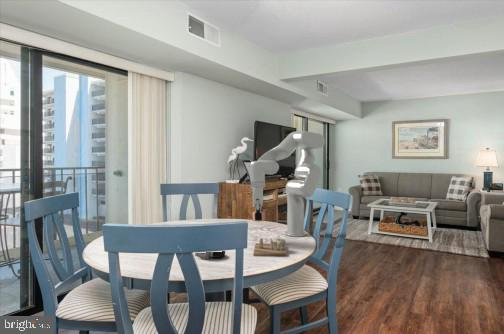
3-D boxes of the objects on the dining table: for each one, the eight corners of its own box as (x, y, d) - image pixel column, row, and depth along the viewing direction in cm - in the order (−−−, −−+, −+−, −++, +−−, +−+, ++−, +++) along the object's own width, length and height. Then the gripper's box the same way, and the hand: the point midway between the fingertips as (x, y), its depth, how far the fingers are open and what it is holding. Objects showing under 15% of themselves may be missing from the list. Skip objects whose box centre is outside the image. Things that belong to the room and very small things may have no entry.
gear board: (255, 245, 173) (255, 234, 173) (285, 246, 172) (285, 234, 172) (253, 255, 155) (253, 243, 155) (286, 256, 154) (286, 243, 154)
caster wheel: (225, 261, 156) (216, 264, 147) (204, 253, 160) (193, 255, 151) (229, 246, 156) (220, 248, 147) (208, 239, 160) (197, 240, 151)
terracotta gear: (252, 218, 184) (252, 211, 184) (265, 218, 184) (265, 211, 183) (251, 221, 177) (251, 213, 177) (265, 221, 177) (264, 213, 177)
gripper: (251, 183, 188) (252, 215, 189) (249, 186, 171) (250, 222, 172) (265, 182, 188) (266, 215, 189) (264, 186, 171) (265, 222, 171)
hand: (258, 218), depth 180 cm, fingers closed on terracotta gear, 6 cm apart
